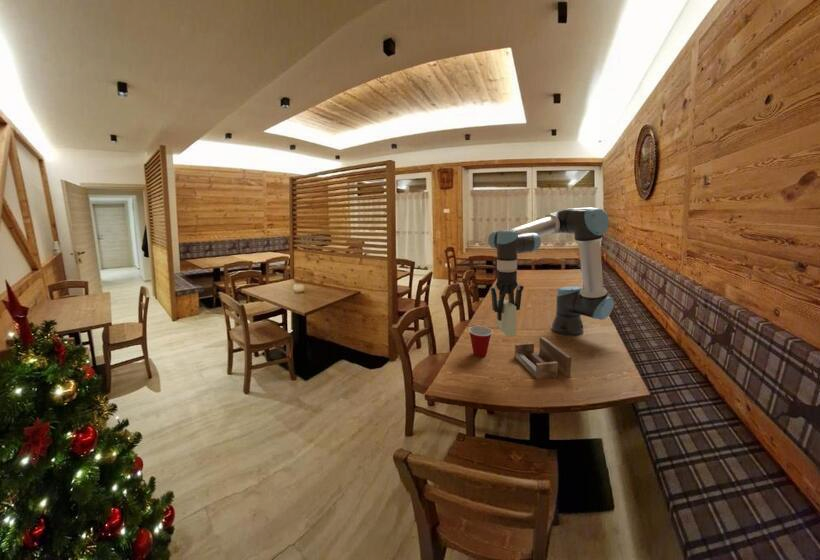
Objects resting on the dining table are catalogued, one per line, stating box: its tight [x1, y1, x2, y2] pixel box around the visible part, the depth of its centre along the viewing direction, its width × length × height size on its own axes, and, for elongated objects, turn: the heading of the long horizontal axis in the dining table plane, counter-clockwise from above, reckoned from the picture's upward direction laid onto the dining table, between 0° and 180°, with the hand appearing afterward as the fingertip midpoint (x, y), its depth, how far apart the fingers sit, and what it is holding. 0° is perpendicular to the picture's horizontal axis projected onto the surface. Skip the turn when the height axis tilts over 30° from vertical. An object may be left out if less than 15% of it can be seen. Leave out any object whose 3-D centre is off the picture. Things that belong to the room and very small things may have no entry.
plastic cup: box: [468, 325, 494, 358], centre depth 157 cm, size 11×11×12 cm
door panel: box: [496, 298, 517, 338], centre depth 138 cm, size 3×12×12 cm, turn 7°
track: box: [514, 336, 572, 380], centre depth 144 cm, size 13×22×8 cm, turn 7°
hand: (505, 327), depth 139 cm, fingers closed on door panel, 3 cm apart
